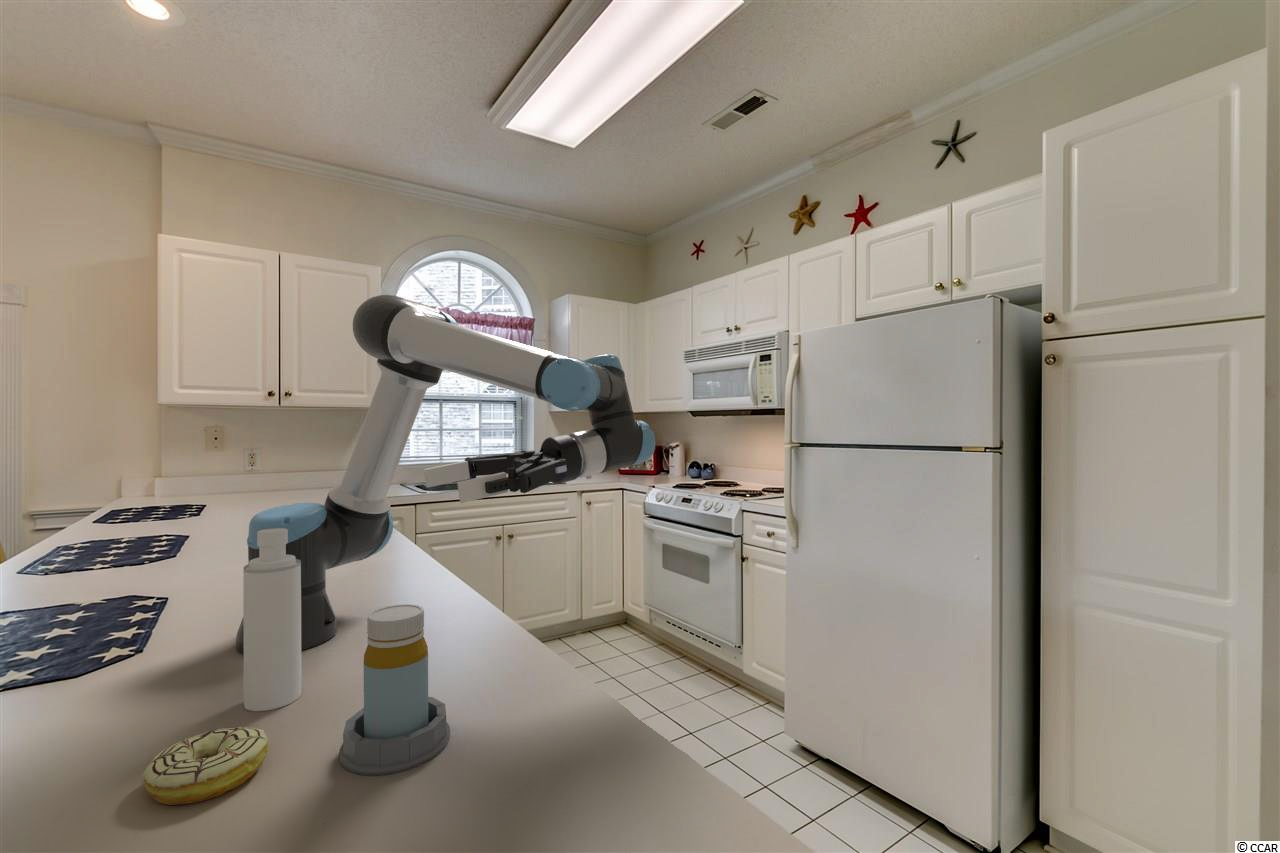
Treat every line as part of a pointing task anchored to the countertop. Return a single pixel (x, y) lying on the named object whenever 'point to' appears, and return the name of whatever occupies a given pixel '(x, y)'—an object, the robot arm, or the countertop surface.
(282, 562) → the spray bottle
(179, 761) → the decorated donut
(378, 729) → the bottle
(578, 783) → the countertop surface
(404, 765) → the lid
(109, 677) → the countertop surface
